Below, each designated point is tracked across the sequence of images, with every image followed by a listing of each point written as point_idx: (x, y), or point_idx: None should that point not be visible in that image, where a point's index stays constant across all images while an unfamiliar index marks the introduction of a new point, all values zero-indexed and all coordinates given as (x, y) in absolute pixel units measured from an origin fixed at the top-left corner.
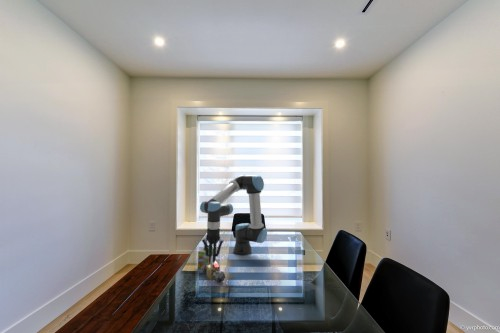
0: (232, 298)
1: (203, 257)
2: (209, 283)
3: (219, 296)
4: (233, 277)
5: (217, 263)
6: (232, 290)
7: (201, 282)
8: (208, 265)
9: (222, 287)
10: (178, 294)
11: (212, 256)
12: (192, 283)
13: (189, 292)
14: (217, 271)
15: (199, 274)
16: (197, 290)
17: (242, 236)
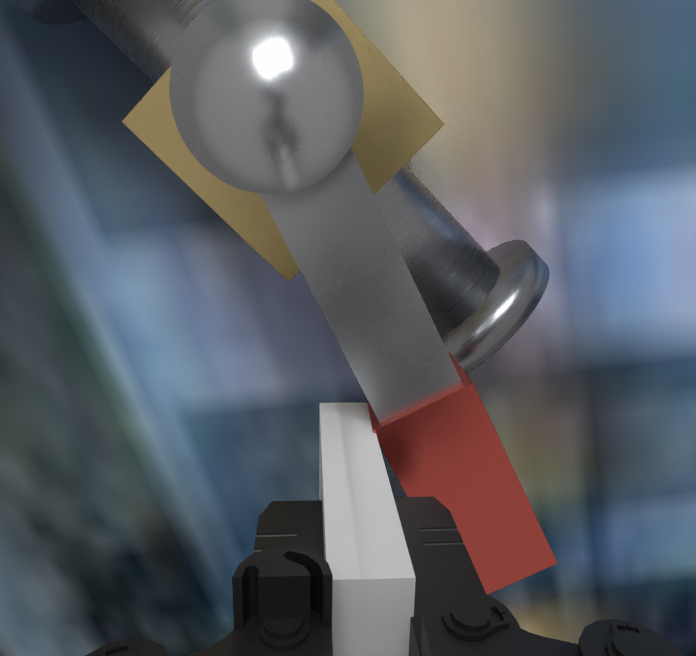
0: (642, 608)
1: None
2: (299, 337)
3: (496, 593)
4: (630, 112)
5: (477, 406)
6: (634, 464)
7: (175, 324)
8: (161, 101)
9: (500, 414)
10: (15, 616)
11: (365, 638)
12: (57, 366)
13: (123, 565)
14: (407, 233)
15: (32, 66)
16: (201, 516)
17: None
